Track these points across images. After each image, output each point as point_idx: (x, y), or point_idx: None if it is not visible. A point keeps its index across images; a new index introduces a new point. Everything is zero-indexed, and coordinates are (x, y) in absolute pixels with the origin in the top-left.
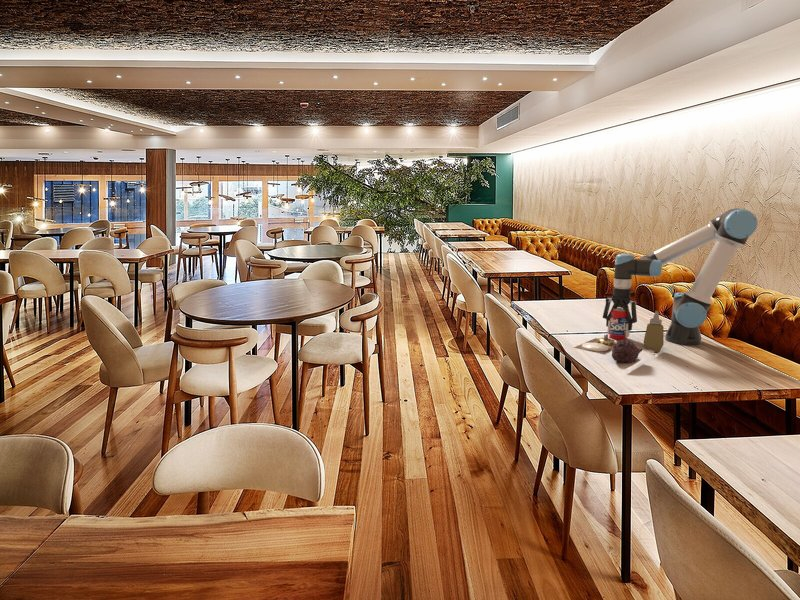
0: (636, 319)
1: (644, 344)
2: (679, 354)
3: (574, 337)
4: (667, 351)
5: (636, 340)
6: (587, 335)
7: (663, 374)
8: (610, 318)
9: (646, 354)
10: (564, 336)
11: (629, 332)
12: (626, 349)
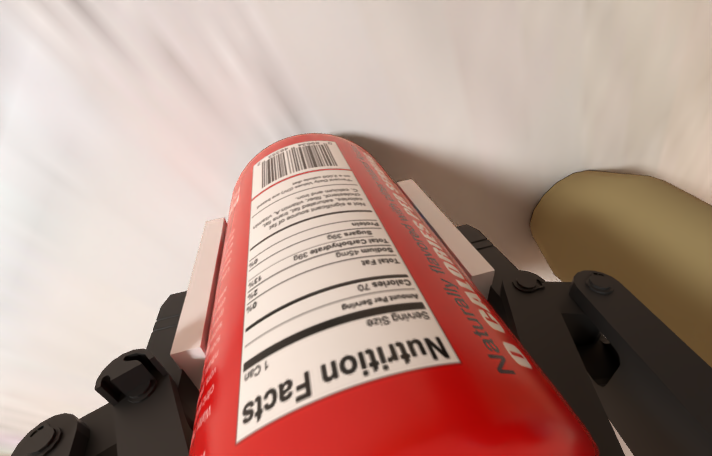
0: (635, 315)
1: (551, 268)
2: (700, 135)
3: (63, 377)
4: (645, 135)
5: (413, 19)
6: (22, 272)
7: None
8: (176, 392)
9: (539, 276)
10: (7, 412)
11: (429, 200)
12: None
